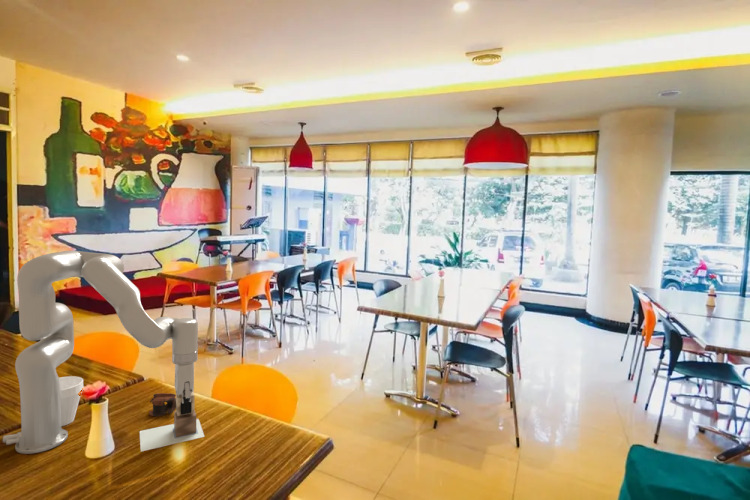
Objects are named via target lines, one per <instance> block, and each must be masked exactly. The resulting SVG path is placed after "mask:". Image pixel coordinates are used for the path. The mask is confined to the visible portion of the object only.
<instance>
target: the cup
mask: <svg viewBox="0 0 750 500" xmlns="http://www.w3.org/2000/svg"><path fill="white" fill-rule="evenodd" d="M59 381H60V396H61V427H64V426H67V425H70V424H71V423H73V422H74V421H75V417H76V414H77V409H78V407H79V403H80V400H81V396H79V395H78V393H79V392H80V391H81V390H82V388H84V378H82V377H81V376H75V375H74V376H72V375H71V376H70V375H69V376H62V377H59ZM82 391H83V390H82Z"/></svg>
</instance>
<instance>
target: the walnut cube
mask: <svg viewBox="0 0 750 500" xmlns="http://www.w3.org/2000/svg"><path fill="white" fill-rule="evenodd" d="M173 412H174V413H173V415H174V416H173V417H174V418H173V419H174V421H173V422H174V423H173V424H174V429H175V434H176V437H180V436H185V435H189V434H193V433H196V419H197V413H196V410H195V409H194V413H191V414H186V415H181V416H177V412H176V410H174V411H173Z"/></svg>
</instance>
